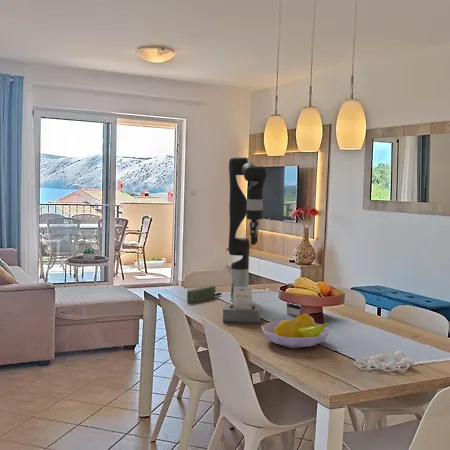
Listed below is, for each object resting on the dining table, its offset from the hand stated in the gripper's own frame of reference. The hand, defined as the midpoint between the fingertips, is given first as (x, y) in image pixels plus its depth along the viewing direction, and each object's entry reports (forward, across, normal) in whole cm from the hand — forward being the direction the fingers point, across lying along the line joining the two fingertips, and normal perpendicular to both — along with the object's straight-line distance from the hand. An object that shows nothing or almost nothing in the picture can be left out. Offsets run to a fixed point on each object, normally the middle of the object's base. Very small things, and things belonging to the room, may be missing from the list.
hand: (254, 243), depth 264 cm
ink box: (+33, +11, -4) cm, 35 cm away
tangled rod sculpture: (+34, +67, +52) cm, 91 cm away
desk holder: (+34, +11, -4) cm, 36 cm away
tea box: (+34, -8, +24) cm, 43 cm away
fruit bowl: (+34, +44, +21) cm, 60 cm away
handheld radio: (+35, -30, -29) cm, 54 cm away
